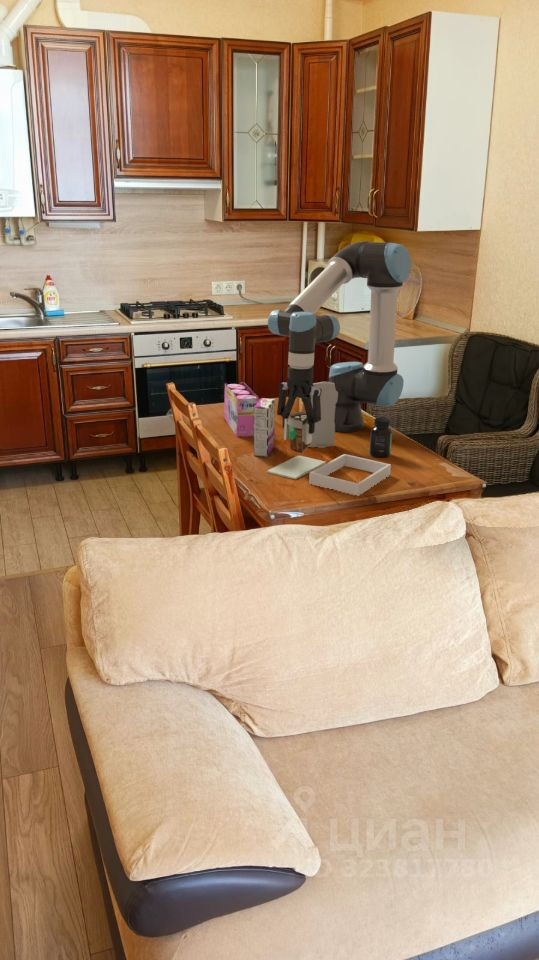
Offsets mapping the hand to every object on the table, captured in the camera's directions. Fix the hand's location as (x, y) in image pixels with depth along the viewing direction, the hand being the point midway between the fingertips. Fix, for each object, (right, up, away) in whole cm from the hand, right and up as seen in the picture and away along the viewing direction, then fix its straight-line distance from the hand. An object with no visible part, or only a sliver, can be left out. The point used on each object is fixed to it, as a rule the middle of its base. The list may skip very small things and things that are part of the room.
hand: (297, 440), depth 236 cm
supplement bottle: (+27, -4, +17) cm, 32 cm away
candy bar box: (-10, -3, +17) cm, 21 cm away
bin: (+15, -12, -5) cm, 20 cm away
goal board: (0, -8, +3) cm, 9 cm away
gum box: (-19, +7, +42) cm, 47 cm away
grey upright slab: (+8, -1, +24) cm, 25 cm away
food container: (0, -2, +1) cm, 2 cm away
